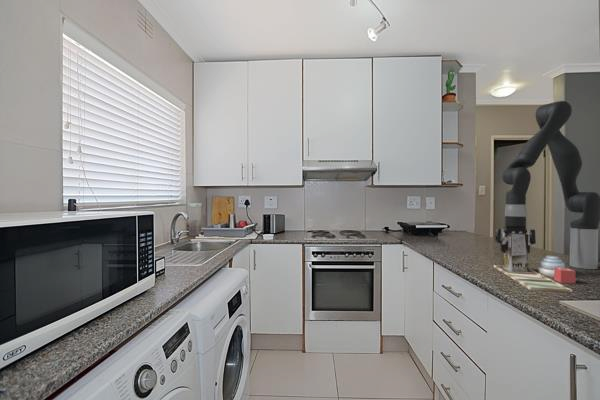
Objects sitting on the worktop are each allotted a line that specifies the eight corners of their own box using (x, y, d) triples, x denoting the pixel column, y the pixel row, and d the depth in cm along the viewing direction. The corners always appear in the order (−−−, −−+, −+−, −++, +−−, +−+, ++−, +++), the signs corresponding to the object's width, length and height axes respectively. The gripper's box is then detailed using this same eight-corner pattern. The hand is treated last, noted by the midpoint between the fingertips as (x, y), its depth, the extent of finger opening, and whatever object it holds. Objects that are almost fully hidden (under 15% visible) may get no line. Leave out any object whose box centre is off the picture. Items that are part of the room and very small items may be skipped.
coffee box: (528, 273, 130) (529, 234, 130) (511, 273, 131) (511, 233, 131) (518, 268, 139) (518, 231, 139) (501, 268, 140) (502, 231, 140)
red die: (554, 279, 121) (554, 267, 121) (568, 280, 120) (568, 268, 120) (560, 282, 117) (560, 270, 117) (575, 283, 115) (575, 270, 115)
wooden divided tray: (493, 266, 142) (493, 265, 142) (524, 268, 139) (524, 266, 139) (529, 289, 108) (529, 287, 108) (572, 292, 105) (572, 289, 105)
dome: (536, 265, 133) (537, 254, 133) (558, 266, 131) (558, 255, 131) (546, 269, 126) (546, 257, 126) (568, 270, 124) (568, 258, 124)
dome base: (534, 271, 134) (534, 265, 134) (559, 272, 132) (559, 266, 132) (544, 276, 125) (544, 270, 125) (571, 277, 123) (571, 271, 123)
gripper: (530, 215, 137) (530, 252, 137) (493, 214, 140) (492, 251, 140) (539, 216, 129) (538, 256, 129) (499, 215, 133) (499, 254, 133)
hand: (514, 253), depth 135 cm, fingers open, 8 cm apart
